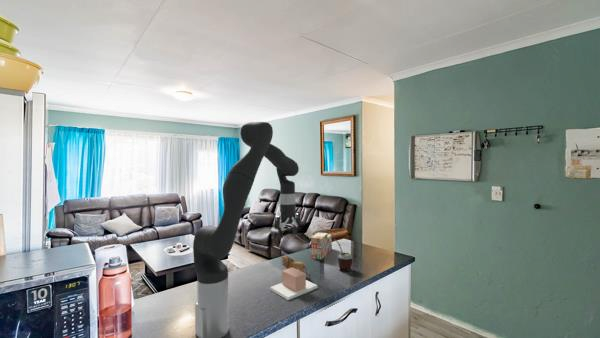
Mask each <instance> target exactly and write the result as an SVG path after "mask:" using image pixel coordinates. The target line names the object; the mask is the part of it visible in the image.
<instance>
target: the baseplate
mask: <svg viewBox="0 0 600 338" xmlns="http://www.w3.org/2000/svg"><path fill="white" fill-rule="evenodd" d="M316 289H318V284H315V283H313V282H311V281H309V280H307V279H306V288H304V289H302V290H299V291H297V292H295V291H293V290H291V289H290V288H288V287H286V286H284V285H282V282H280V283H277V284H275V285H273V286H270V289H269V290H270V291H272V292H273V293H275V294H276V295H278V296H280V297H281V298H283V299H284V300H287V301H291V300H293V299H294V298H297V297H299V296H302V295H304V294H307V293H309V292H311V291H314V290H316Z"/></svg>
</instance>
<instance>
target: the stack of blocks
mask: <svg viewBox="0 0 600 338" xmlns="http://www.w3.org/2000/svg"><path fill="white" fill-rule="evenodd" d="M332 236H333V235H332V234H330V233H329V234H328V232H319V231H318V232H316V233H315V234H314V235H313V236H311V237H310V249H311V252H310V253H311V255H310V256H311V257H310V258H311V259H313V260H320V261H322V260H323V259H324V258H325V257H326V256H327V255H328V253H330V252H331V251H332V249H333V241H332V240H333V238H332Z"/></svg>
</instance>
